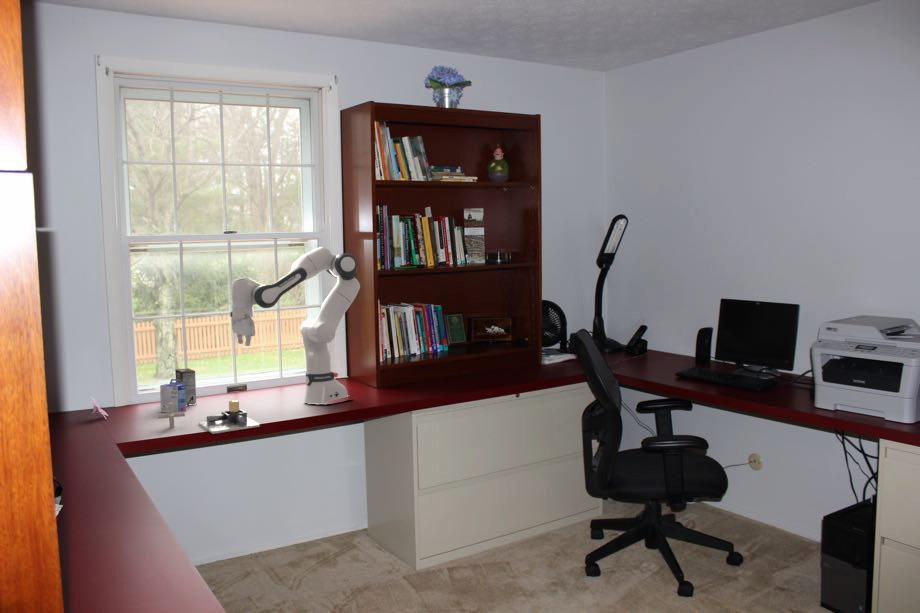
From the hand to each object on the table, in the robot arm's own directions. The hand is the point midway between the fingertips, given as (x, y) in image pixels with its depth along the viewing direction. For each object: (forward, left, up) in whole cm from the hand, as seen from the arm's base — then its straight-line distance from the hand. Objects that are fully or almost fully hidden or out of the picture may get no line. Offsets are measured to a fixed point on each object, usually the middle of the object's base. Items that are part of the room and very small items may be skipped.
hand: (244, 344), depth 331 cm
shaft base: (+16, +26, -29) cm, 43 cm away
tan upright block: (+13, +23, -28) cm, 39 cm away
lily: (+58, -19, -29) cm, 67 cm away
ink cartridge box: (+28, -14, -29) cm, 43 cm away
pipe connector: (+36, +15, -29) cm, 49 cm away
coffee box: (+19, -27, -29) cm, 44 cm away
